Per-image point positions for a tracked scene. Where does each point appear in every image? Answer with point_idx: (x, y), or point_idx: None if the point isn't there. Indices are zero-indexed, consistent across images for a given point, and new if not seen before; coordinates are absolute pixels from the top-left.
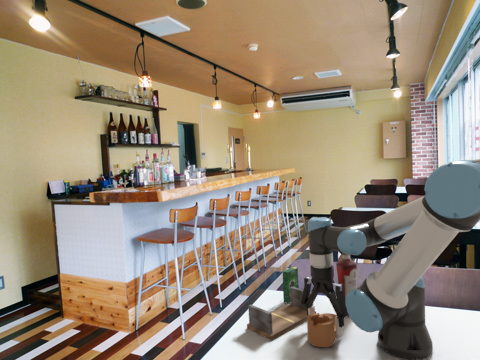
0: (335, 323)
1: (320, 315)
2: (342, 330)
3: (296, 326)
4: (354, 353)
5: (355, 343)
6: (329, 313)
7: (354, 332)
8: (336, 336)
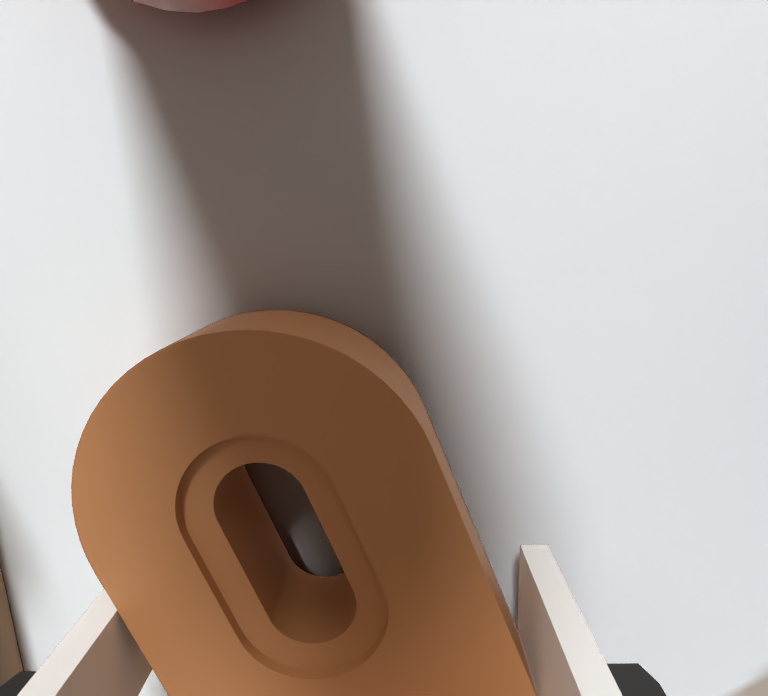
0: (433, 569)
1: (107, 503)
2: (564, 585)
3: (14, 638)
4: (744, 653)
5: (677, 510)
6: (153, 357)
7: (560, 321)
8: (521, 635)
